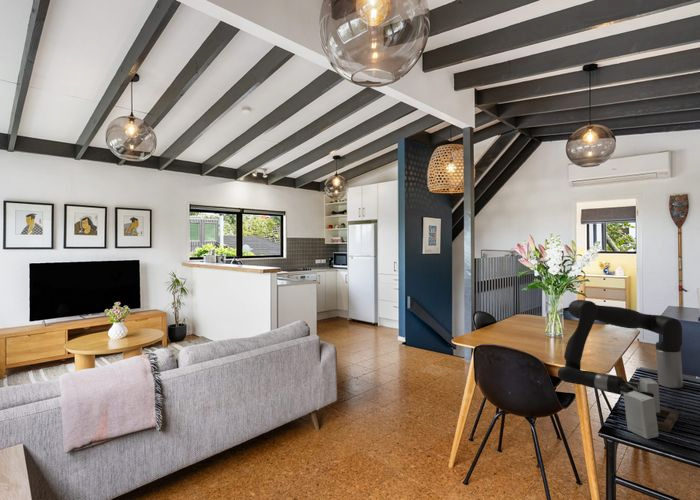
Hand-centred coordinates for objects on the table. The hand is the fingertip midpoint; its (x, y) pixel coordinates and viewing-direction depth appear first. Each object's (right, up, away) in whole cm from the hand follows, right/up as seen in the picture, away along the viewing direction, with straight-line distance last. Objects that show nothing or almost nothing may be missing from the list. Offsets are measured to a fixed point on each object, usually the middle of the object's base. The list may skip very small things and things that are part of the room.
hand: (656, 393), depth 154 cm
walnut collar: (0, -11, +2) cm, 12 cm away
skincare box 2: (-11, -13, -7) cm, 18 cm away
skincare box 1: (-1, -7, +2) cm, 8 cm away
